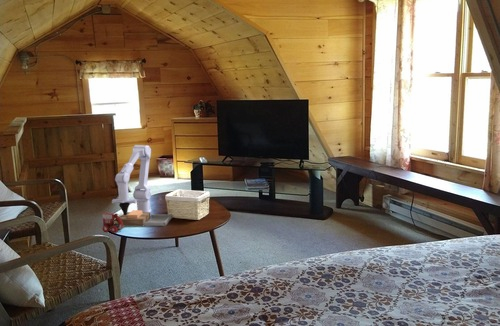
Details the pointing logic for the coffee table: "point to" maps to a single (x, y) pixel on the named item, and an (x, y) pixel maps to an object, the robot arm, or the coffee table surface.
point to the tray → (158, 220)
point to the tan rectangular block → (135, 214)
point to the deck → (135, 219)
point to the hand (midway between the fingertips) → (125, 214)
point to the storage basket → (188, 204)
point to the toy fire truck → (111, 222)
